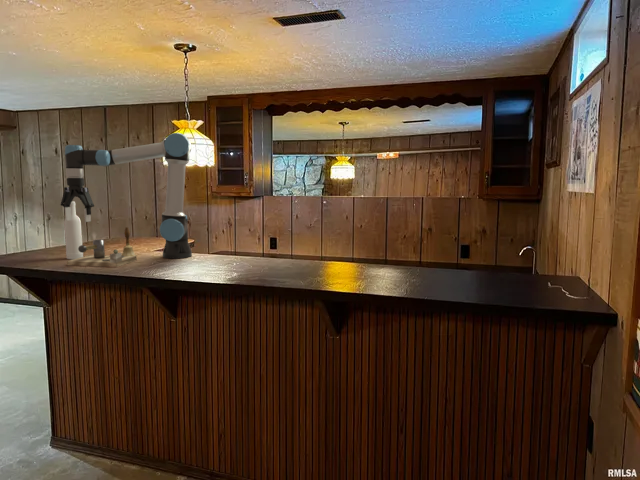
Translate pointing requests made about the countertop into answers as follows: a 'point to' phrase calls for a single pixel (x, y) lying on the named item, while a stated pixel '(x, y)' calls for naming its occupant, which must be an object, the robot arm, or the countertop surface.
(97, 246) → the metal mallet
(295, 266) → the countertop surface
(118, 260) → the stand
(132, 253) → the hand bell
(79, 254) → the bottle
